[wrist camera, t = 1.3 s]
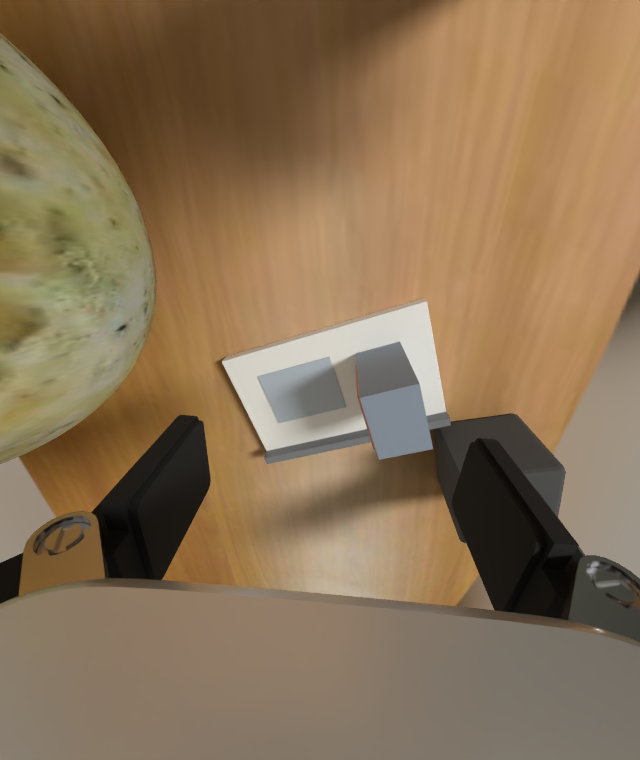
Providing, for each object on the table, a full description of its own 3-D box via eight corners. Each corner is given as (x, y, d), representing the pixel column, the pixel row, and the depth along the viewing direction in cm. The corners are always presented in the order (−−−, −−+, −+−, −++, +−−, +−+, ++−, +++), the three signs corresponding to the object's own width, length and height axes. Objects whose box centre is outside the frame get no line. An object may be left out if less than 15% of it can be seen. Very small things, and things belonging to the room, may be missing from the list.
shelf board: (423, 298, 33) (430, 304, 30) (444, 413, 39) (451, 427, 37) (225, 356, 38) (216, 366, 35) (272, 451, 44) (267, 465, 42)
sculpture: (437, 480, 45) (574, 861, 18) (433, 423, 40) (607, 816, 14) (512, 472, 43) (785, 878, 16) (516, 412, 39) (899, 833, 12)
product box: (399, 341, 34) (419, 383, 25) (411, 394, 37) (433, 449, 28) (353, 354, 35) (356, 398, 26) (368, 404, 38) (375, 460, 29)
